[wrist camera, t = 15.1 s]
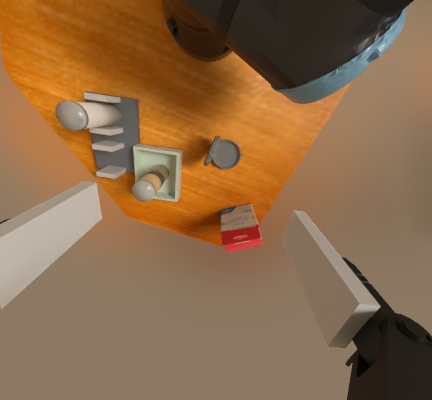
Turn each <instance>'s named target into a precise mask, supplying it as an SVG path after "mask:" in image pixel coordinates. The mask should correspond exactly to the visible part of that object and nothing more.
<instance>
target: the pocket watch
mask: <svg viewBox="0 0 432 400" xmlns="http://www.w3.org/2000/svg"><path fill="white" fill-rule="evenodd" d="M240 157H241V151H240V148H239V146H238V145H237V144H236V143H235V142H233V141H231V140H223V141H220V136H216V137H215V138H214V140H213V142H212V144H211V147H210V149H209V151H208V153H207V155H206V158H205V160H204V165H205V166H207V165H209V164H210V162H211V160H212V158H213V161H214V163H215V164H216V165H217V166H218V167H220V168H223V169H230V168H233V167H234V166H236V165H237V164H238V162H239V160H240Z"/></svg>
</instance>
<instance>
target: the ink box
mask: <svg viewBox="0 0 432 400" xmlns="http://www.w3.org/2000/svg"><path fill="white" fill-rule="evenodd" d="M221 238H222V246H224V247H225V249H226V252H230V251H235V250H240V249H246V248H251V247H256V246H262V245H263V243H262V237H261V232H260V227H259V225H258V222H257V219H256V216H255V213H254V210H253V207H252V204H246V205H242V206H237V207H233V208H228V209H224V210H221Z"/></svg>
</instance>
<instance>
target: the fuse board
mask: <svg viewBox="0 0 432 400" xmlns="http://www.w3.org/2000/svg"><path fill="white" fill-rule="evenodd" d="M84 98H85V99H86V100H87V102H90V103H108V104H114V105H116V106H117V107H118V108H119V110H120V111H121V114H122V119H121V121H120V123H118V124H115V125H108V126H101V127H94V128H89V130H90V133H92V139H93V144H92V149H94V152H95V158H96V165H97V168H100V169H101V170H99V171H97V172H96V175H97V176H99V177H106V178H113V179H116V178H117V177H119V176H121V175H122V174H124V173H125V172H128V173H135V167H134V150H133V146H135V145H137V144H140V131H139V108H138V100H137V99H131V98H124V97H118V96H111V95H105V94H99V93H92V92H84Z"/></svg>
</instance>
